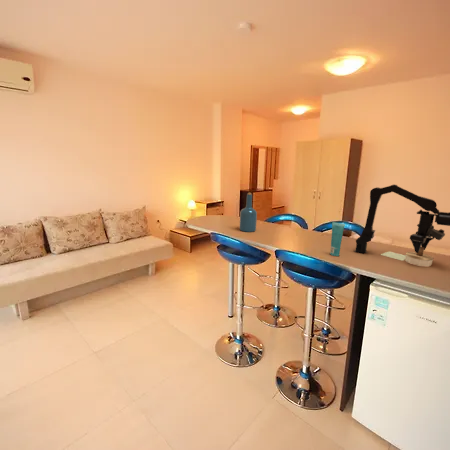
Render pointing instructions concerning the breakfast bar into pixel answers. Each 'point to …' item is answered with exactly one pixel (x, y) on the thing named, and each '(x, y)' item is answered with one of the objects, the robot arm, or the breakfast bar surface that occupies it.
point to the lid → (419, 255)
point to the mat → (394, 255)
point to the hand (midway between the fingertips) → (420, 251)
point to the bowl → (418, 261)
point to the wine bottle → (248, 216)
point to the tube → (336, 238)
